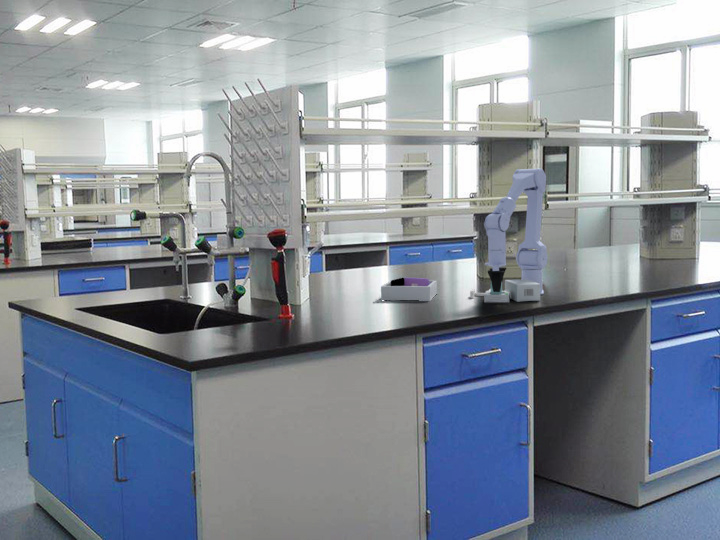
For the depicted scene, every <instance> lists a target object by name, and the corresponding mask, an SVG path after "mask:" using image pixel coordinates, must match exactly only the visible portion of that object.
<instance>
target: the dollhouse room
mask: <svg viewBox="0 0 720 540" xmlns="http://www.w3.org/2000/svg"><path fill="white" fill-rule="evenodd" d="M390 281H391V286H414V285H417V286H428V285H429V281H430V279H429V278H423V277H420V278H419V277H399V278H396V279H392V280H390Z"/></svg>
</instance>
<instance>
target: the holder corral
mask: <svg viewBox="0 0 720 540" xmlns="http://www.w3.org/2000/svg"><path fill="white" fill-rule="evenodd" d="M437 283H438V281H437V280H429V285H428V286H417V285H414V286H391V280H389V281H388V282H386V283H384V284H383V285H381V286H380V296H381V297H380V299H381V300H419V301H418V302H431V301H433V299H434V298H435V297H436V296H437V295H438V284H437ZM436 294H437V295H436ZM435 295H436V296H435ZM434 296H435V297H434ZM433 297H434V298H433ZM432 298H433V299H432Z"/></svg>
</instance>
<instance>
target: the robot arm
mask: <svg viewBox="0 0 720 540" xmlns="http://www.w3.org/2000/svg"><path fill="white" fill-rule="evenodd" d="M546 180H547V174H546V173H545V171H544V169H543V168H541V167H538V168H523V169H521V168H517V169H516V170H515V171H514V173H513V175H512V184H511V185H510V188H509V189H508V192H507V195H506V197H504V196H503V197H502V198H500V199H499V201H498V203H497V205H496V206H495V208H494V210H493V212H492V213H489V214H488V215H487V216H486V217H485V220H484V222H483V226H484V229H485V231H486V237H487V239H488V241H487V244H488V245H487V247H488V250H487V251H488V252H487V253H488V255H487V256H488V261H487V262H485V263H484V266H488V267H490V268H489V270H488V269H487V274H488V276H489V279H490V284H491V283H492V288H493V292H500V289H501V282H502V283H503V281H504V280H503V279H504V276H505V273H506V270H507V262H506V261H507V259H506V258H507V257H506V256H507V255H506V252H507V251H506V249H507V248H506V245H507V243H506V235H507V233H506V231H507V230H508V229H509V226H510V222H511V217H512V215H513V214H514V211H515V210H516V208H517V204H516V202H517V200H518V199H519V197H520V196H521V195H522V193H524V194H525V195H526V196H527V203H526V216H525V217H526V218H525V233H524V240H523V241H522V243H520V244H519V245H518V250H517V253H516V255H515V261H516V264H517V265H518V267H519V269H521V280H522V279H528V280H530V281H533V282H536V283H539V284H540V295H544V289H543V269H545V267H546V265H547V263H548V257H549V256H548V253H547V251H548V250H547V248H548V247H547V246H546V245H545V244H544V243H543V242H542V241H540V240H541V228H542V226H541V225H542V215H543V214H542V213H543V212H542V211H543V197H544V193H545V192H546V186H547V185H546V183H547V181H546Z"/></svg>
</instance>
